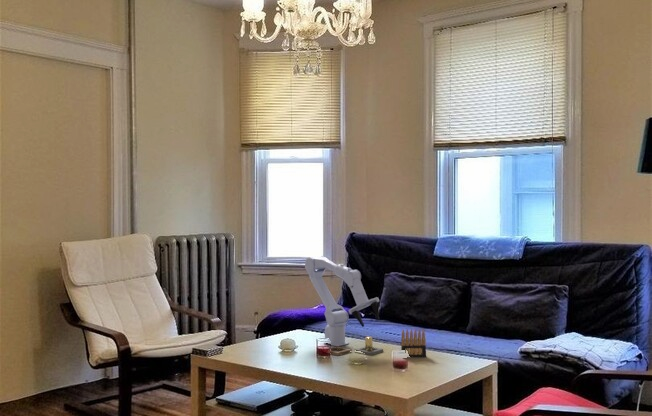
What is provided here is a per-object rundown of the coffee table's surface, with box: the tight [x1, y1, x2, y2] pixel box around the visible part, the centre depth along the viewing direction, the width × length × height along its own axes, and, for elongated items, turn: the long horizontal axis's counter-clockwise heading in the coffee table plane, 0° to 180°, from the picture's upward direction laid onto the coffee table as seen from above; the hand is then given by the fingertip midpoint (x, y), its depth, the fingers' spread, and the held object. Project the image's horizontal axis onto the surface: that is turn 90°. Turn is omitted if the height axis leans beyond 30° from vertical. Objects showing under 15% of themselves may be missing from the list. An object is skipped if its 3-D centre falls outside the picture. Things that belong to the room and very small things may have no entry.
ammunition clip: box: [400, 328, 427, 358], centre depth 282 cm, size 11×2×12 cm, turn 91°
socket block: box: [354, 346, 384, 356], centre depth 291 cm, size 9×9×1 cm
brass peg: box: [364, 336, 373, 351], centre depth 291 cm, size 3×3×6 cm
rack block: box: [330, 346, 352, 357], centre depth 291 cm, size 9×9×1 cm
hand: (370, 322), depth 291 cm, fingers open, 7 cm apart
